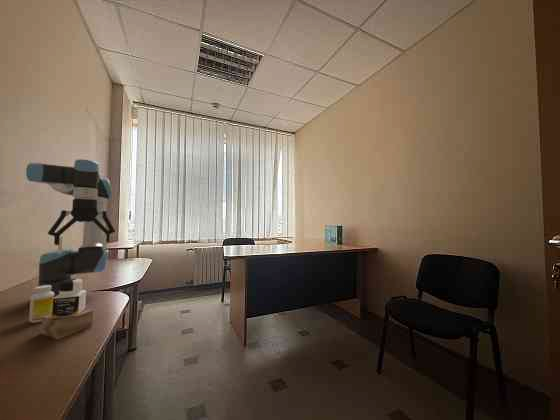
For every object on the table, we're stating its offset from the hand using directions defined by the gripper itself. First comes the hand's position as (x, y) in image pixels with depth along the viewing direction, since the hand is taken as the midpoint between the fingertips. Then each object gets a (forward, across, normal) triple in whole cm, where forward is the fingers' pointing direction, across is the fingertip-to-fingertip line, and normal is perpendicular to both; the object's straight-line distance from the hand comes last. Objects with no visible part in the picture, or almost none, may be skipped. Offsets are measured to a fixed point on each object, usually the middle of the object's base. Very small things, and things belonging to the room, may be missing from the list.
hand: (83, 251), depth 91 cm
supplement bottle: (+27, -10, +10) cm, 31 cm away
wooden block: (+27, -5, -8) cm, 29 cm away
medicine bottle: (+21, -4, -8) cm, 23 cm away
